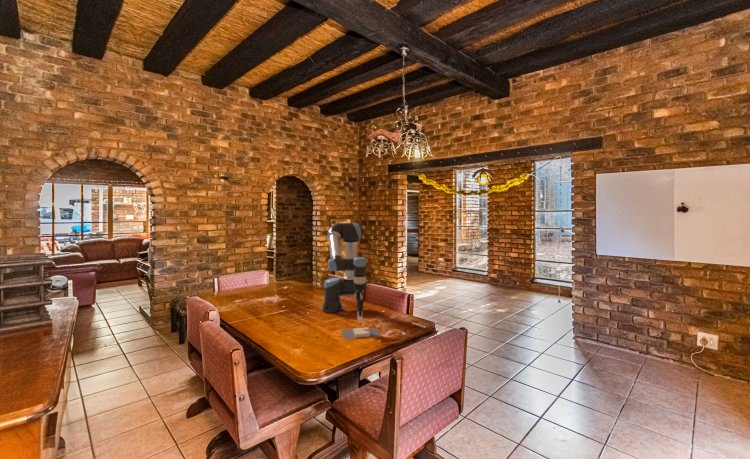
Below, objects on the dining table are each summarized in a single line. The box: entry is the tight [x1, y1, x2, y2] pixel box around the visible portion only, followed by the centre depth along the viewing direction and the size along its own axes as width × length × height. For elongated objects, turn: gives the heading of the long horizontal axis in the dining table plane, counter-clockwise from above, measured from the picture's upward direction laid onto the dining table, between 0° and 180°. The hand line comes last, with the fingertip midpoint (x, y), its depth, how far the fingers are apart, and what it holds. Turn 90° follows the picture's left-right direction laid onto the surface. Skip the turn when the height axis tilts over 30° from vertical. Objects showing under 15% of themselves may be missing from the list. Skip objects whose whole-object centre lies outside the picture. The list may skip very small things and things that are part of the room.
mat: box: [341, 327, 382, 340], centre depth 202 cm, size 14×22×1 cm, turn 102°
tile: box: [352, 327, 370, 339], centre depth 201 cm, size 2×9×9 cm
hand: (359, 320), depth 206 cm, fingers closed
